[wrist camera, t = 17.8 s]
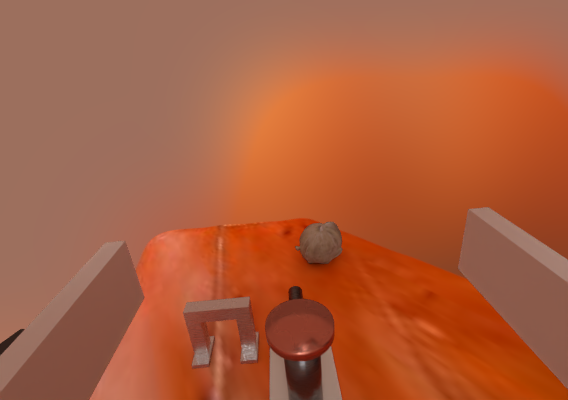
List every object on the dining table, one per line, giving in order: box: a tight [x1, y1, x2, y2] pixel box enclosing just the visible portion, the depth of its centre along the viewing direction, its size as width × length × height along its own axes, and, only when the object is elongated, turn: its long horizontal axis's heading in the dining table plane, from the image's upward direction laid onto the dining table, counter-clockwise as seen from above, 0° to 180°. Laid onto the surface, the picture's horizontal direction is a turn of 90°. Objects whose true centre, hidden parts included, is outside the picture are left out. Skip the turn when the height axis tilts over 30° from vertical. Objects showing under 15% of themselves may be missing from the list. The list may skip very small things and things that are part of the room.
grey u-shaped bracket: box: [183, 297, 259, 369], centre depth 45 cm, size 9×5×9 cm, turn 93°
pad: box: [270, 346, 342, 400], centre depth 43 cm, size 9×18×1 cm, turn 3°
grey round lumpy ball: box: [295, 222, 342, 264], centre depth 64 cm, size 9×8×10 cm
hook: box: [265, 286, 334, 400], centre depth 42 cm, size 7×24×14 cm, turn 2°
